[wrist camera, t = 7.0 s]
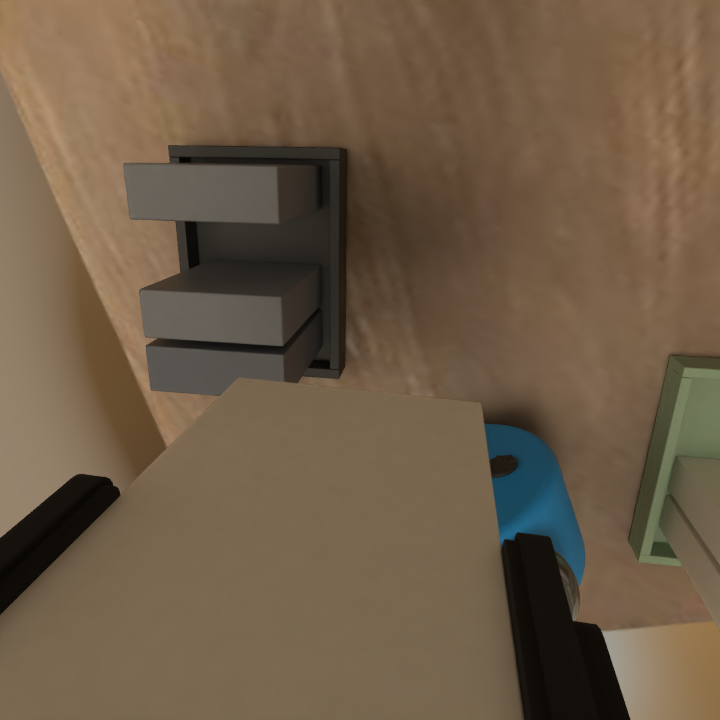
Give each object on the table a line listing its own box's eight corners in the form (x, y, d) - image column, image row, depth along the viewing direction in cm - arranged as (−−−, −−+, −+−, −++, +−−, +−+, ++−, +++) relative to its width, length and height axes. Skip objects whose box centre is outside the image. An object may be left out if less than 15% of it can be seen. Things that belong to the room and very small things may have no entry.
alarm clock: (375, 523, 39) (335, 723, 25) (343, 450, 37) (280, 620, 23) (560, 478, 36) (633, 681, 22) (534, 395, 34) (593, 557, 20)
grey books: (203, 163, 32) (121, 162, 24) (321, 165, 31) (277, 165, 23) (217, 339, 35) (150, 390, 27) (322, 346, 34) (285, 401, 26)
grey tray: (184, 146, 32) (167, 145, 30) (347, 148, 31) (340, 147, 29) (203, 357, 37) (189, 368, 35) (345, 367, 35) (339, 379, 33)
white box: (238, 376, 16) (-144, 751, 6) (481, 401, 15) (550, 901, 5) (240, 449, 17) (-91, 892, 6) (471, 477, 16) (512, 1045, 6)
